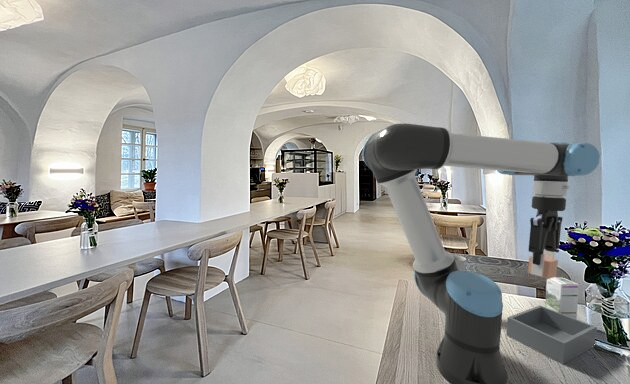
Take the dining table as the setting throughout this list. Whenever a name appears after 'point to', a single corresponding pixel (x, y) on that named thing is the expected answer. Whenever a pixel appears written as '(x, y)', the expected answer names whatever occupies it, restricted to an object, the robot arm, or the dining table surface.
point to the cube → (546, 267)
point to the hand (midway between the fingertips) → (541, 273)
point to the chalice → (460, 262)
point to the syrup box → (562, 296)
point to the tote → (551, 333)
